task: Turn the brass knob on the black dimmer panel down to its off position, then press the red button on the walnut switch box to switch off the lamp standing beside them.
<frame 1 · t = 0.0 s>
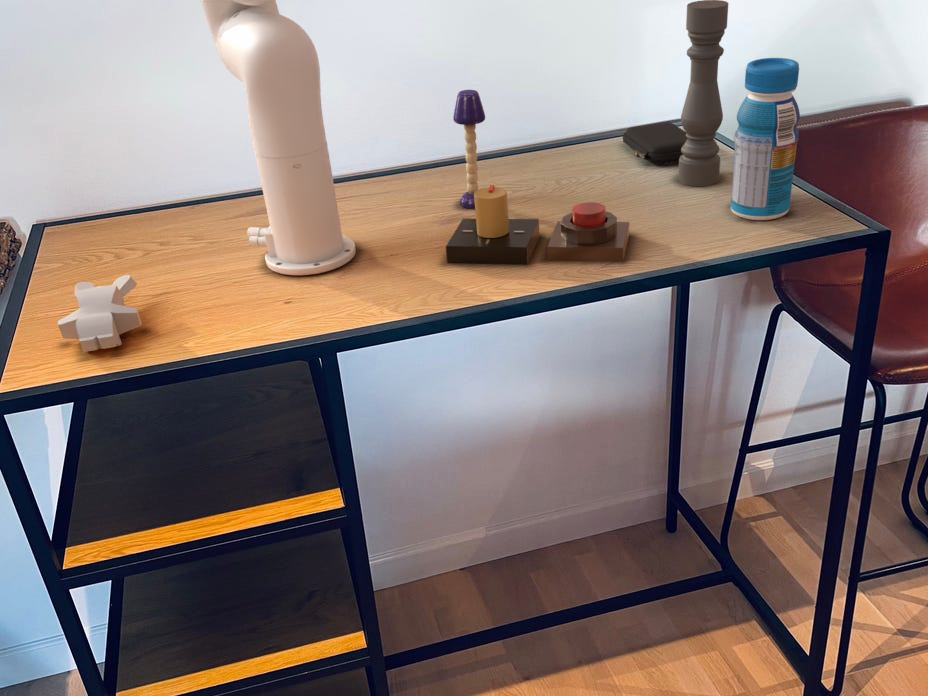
white blocky figure: (107, 331, 125), on the table
switch box: (589, 248, 134), on the table
candle holder: (698, 180, 153), on the table
beverage bottle: (759, 212, 141), on the table
carrying case: (658, 153, 165), on the table
power button: (588, 215, 132), point 5 cm above the table, slide at 0.1 cm
dimmer knob: (491, 211, 133), point 5 cm above the table, hinge at 95.0°
toy lamp: (475, 205, 151), on the table
dimmer: (494, 249, 136), on the table
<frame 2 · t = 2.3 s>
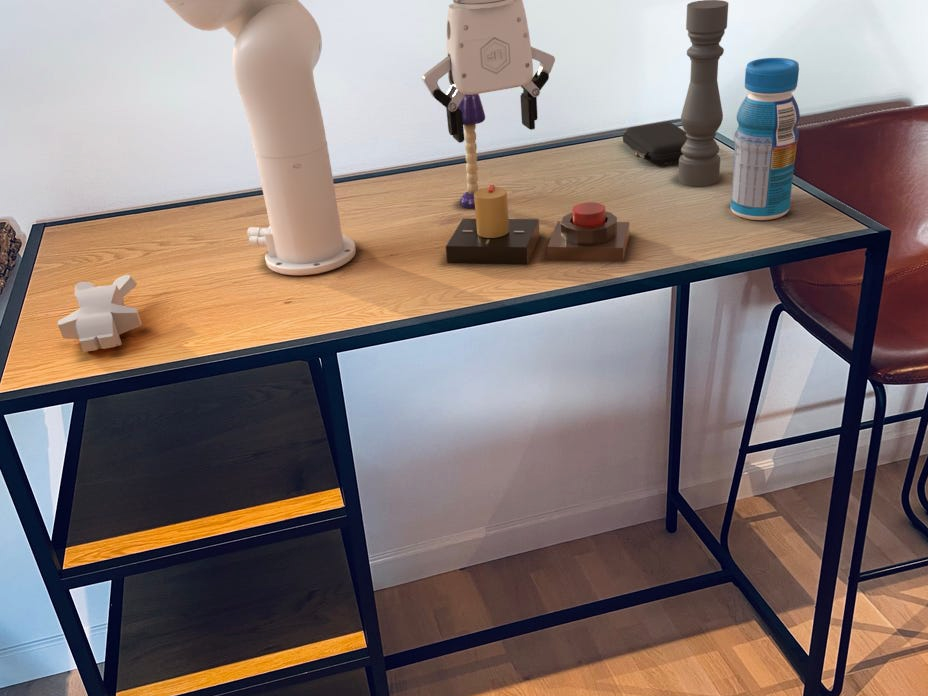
hand: (493, 133, 129), 15 cm above the table, tool pointing down, fingers open, 9 cm apart
nothing on the table moved.
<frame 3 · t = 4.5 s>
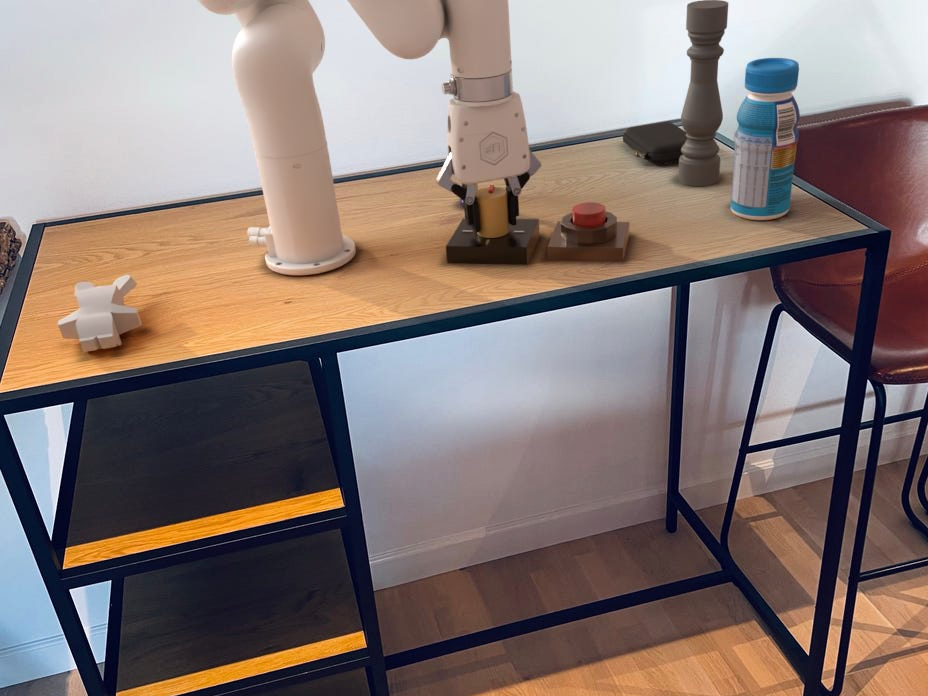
hand: (492, 224, 134), 4 cm above the table, tool pointing down, fingers closed on dimmer knob, 4 cm apart
dimmer knob: (491, 211, 133), point 5 cm above the table, hinge at 95.1°, touching gripper
everything else where it was.
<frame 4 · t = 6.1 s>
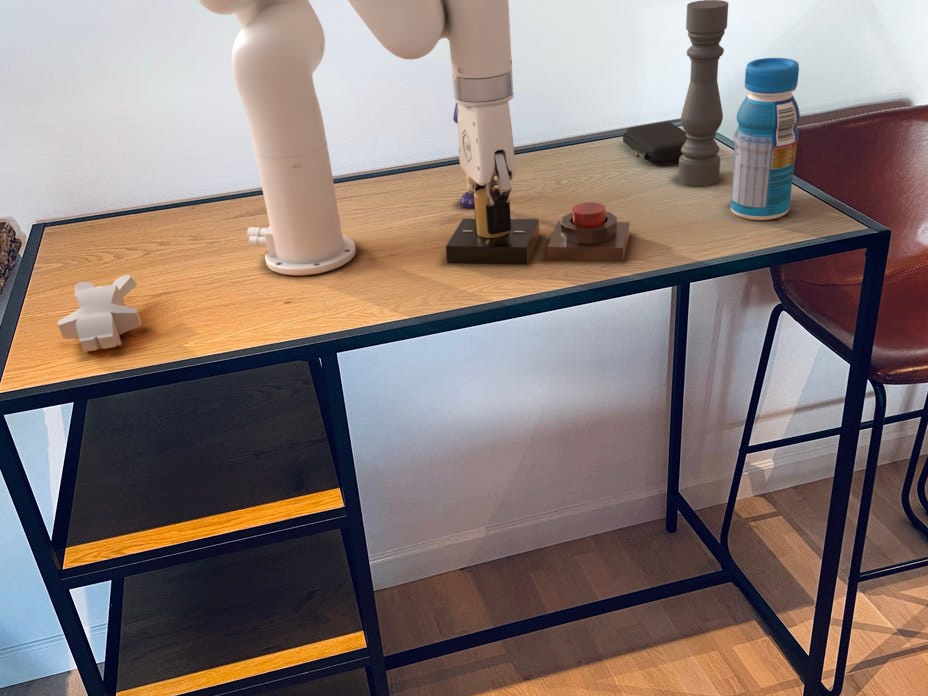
hand: (493, 224, 134), 4 cm above the table, tool pointing down, fingers closed on dimmer knob, 4 cm apart
dimmer knob: (491, 211, 133), point 5 cm above the table, hinge at 4.4°, touching gripper
everything else where it was.
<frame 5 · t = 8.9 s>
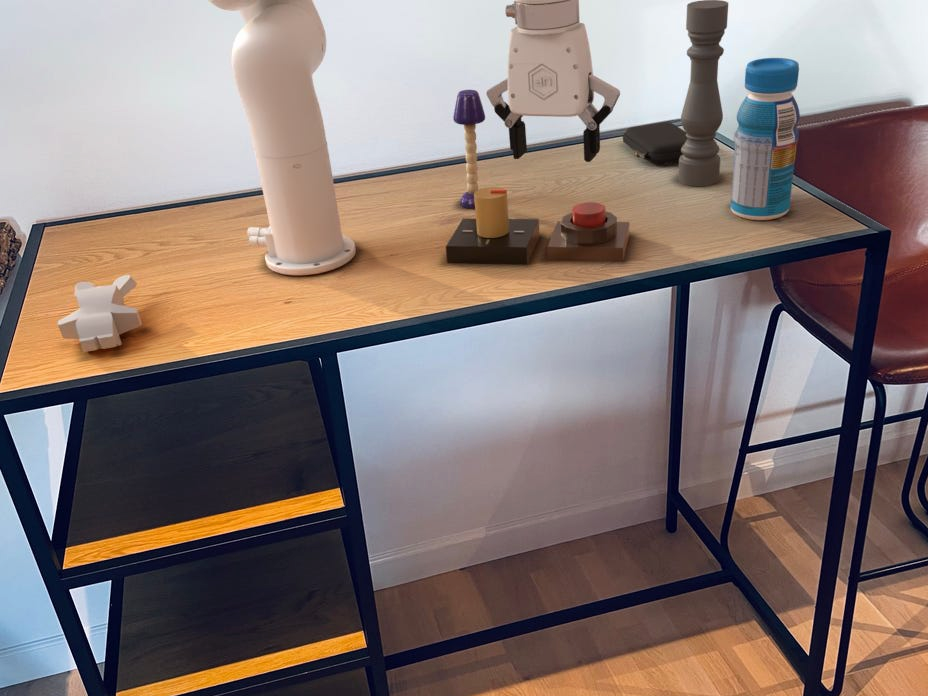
hand: (555, 157, 128), 13 cm above the table, tool pointing down, fingers open, 9 cm apart
dimmer knob: (491, 211, 133), point 5 cm above the table, hinge at 3.3°
everything else where it was.
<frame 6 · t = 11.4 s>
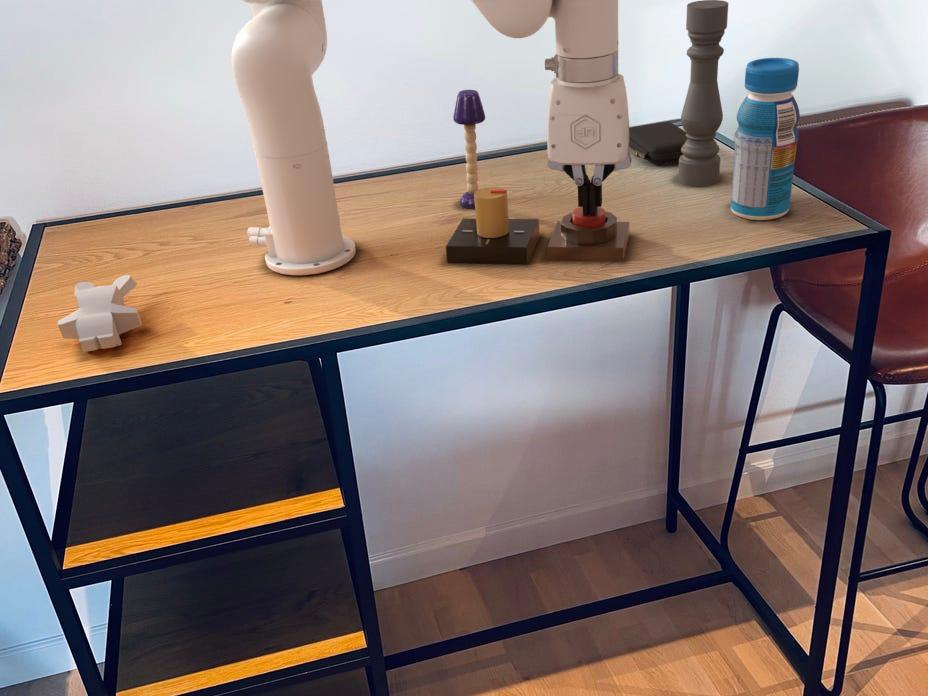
hand: (590, 211, 131), 5 cm above the table, tool pointing down, fingers closed
power button: (588, 219, 132), point 4 cm above the table, slide at -0.4 cm, touching gripper
everything else where it was.
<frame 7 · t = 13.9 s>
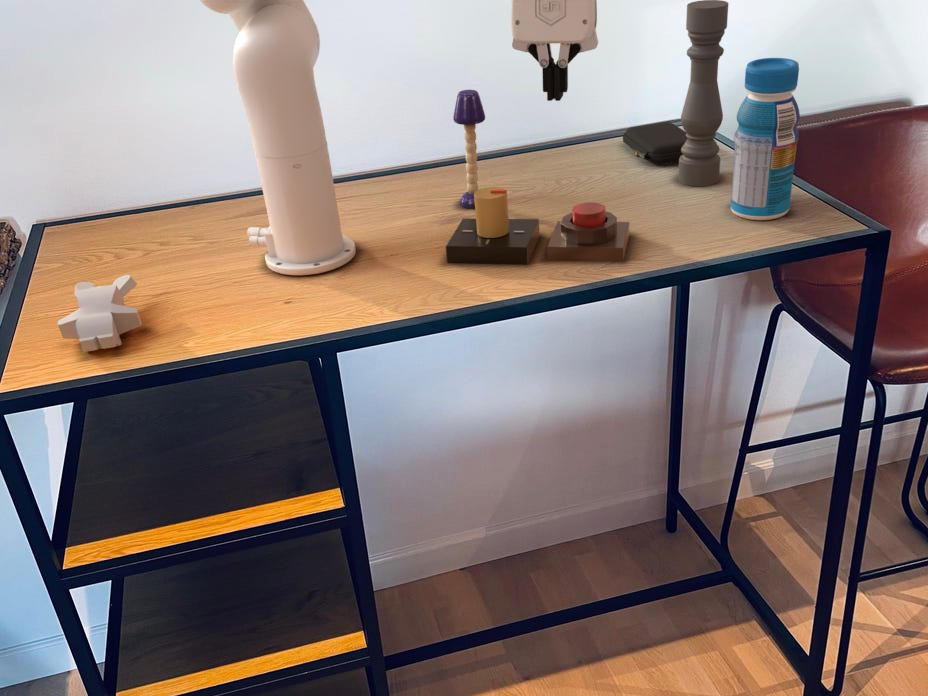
hand: (555, 97, 127), 19 cm above the table, tool pointing down, fingers closed
power button: (588, 215, 132), point 5 cm above the table, slide at 0.1 cm
everything else where it was.
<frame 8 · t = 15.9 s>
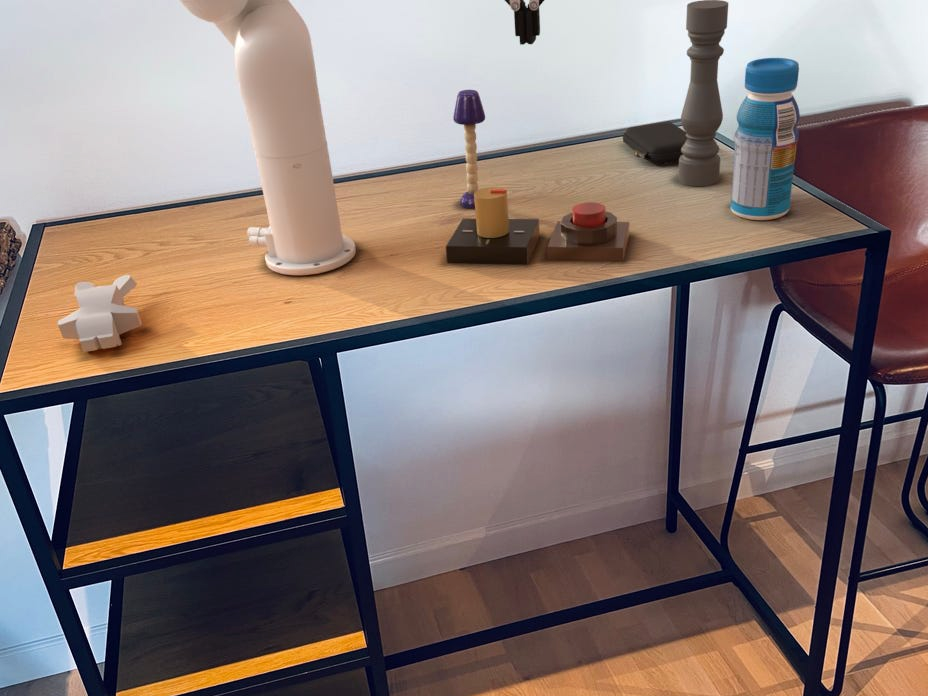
hand: (528, 41, 127), 25 cm above the table, tool pointing down, fingers closed
nothing on the table moved.
at the end: dimmer knob at +3° (first picture: +95°); power button pushed in 1.3 cm at the most during the clip, back to where it started at the end; power button slide at 0.1 cm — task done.
